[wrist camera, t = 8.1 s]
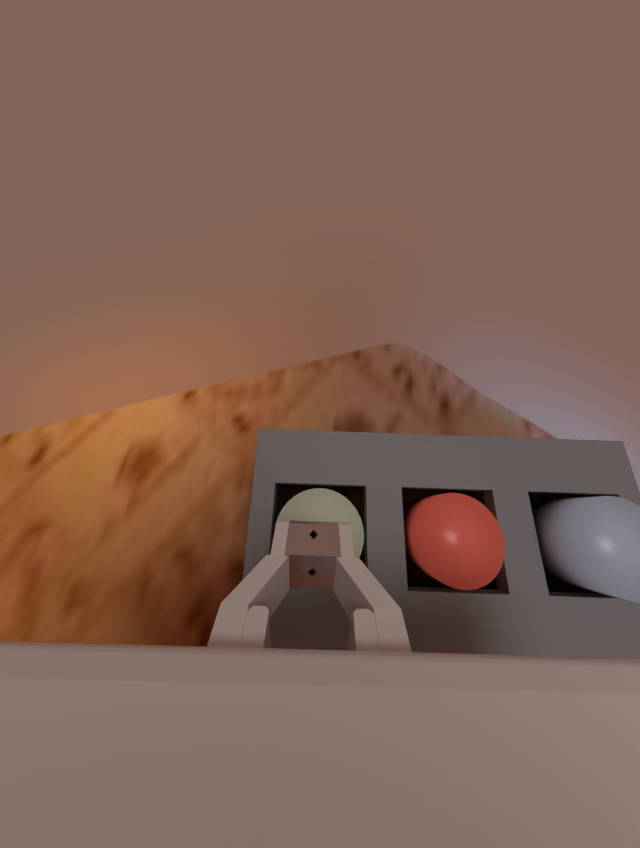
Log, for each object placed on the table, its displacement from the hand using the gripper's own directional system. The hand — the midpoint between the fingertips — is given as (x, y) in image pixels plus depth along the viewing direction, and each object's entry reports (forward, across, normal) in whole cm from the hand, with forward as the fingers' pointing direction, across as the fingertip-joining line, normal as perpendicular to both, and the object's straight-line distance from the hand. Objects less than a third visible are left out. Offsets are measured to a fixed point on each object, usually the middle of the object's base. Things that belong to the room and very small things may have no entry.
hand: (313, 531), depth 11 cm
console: (+9, -8, +10) cm, 15 cm away
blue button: (+4, -15, +4) cm, 16 cm away
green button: (+5, 0, +5) cm, 7 cm away
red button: (+5, -8, +5) cm, 11 cm away
